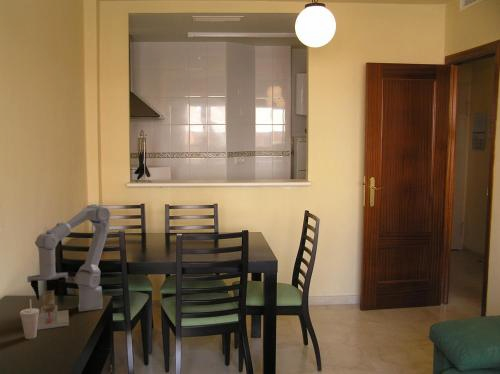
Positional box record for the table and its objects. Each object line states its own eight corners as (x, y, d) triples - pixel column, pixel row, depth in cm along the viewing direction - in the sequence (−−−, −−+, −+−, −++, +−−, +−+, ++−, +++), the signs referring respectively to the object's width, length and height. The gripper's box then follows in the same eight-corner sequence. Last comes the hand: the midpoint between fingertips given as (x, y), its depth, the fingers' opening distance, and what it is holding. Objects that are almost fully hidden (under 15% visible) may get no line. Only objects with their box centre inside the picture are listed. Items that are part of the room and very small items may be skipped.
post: (55, 309, 184) (54, 290, 183) (54, 312, 180) (54, 293, 179) (43, 310, 182) (42, 291, 182) (43, 314, 178) (42, 294, 178)
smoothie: (32, 341, 163) (30, 302, 162) (16, 339, 165) (15, 301, 163) (44, 334, 170) (42, 297, 168) (28, 332, 171) (27, 295, 170)
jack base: (68, 313, 191) (68, 299, 190) (68, 325, 178) (68, 310, 177) (31, 318, 185) (30, 303, 185) (28, 331, 172) (28, 315, 172)
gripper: (26, 268, 174) (27, 303, 175) (67, 264, 179) (68, 298, 181) (27, 264, 180) (29, 297, 182) (67, 260, 186) (68, 293, 187)
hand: (48, 297), depth 182 cm, fingers open, 7 cm apart
